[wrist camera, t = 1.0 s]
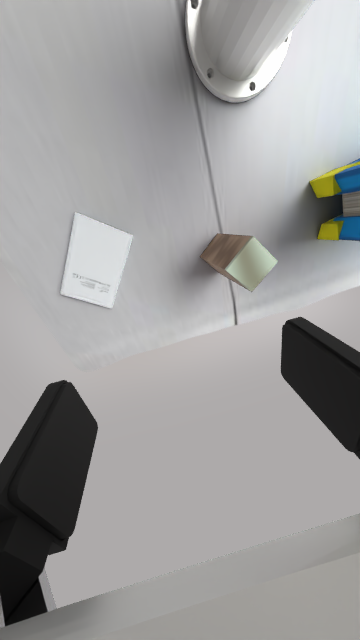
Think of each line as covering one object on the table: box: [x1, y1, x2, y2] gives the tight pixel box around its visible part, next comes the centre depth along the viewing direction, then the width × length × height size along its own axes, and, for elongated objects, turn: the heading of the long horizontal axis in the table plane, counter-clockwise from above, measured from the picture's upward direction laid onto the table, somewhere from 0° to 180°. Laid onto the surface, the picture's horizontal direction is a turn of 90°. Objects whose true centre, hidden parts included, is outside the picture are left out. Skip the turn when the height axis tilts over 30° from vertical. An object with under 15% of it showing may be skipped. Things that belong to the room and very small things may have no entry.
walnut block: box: [200, 234, 278, 292], centre depth 28 cm, size 4×4×12 cm
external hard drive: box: [60, 212, 133, 308], centre depth 31 cm, size 2×8×12 cm
